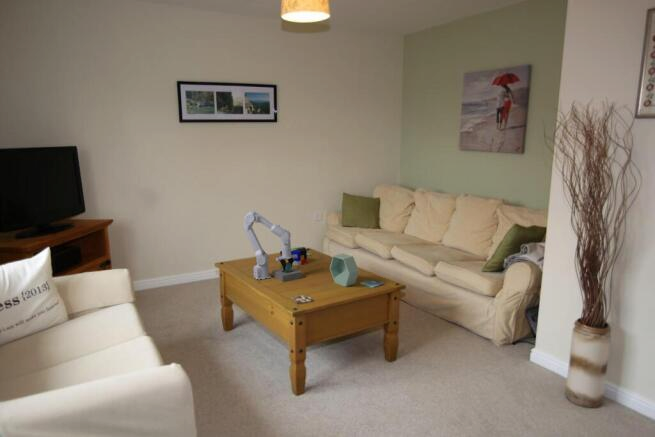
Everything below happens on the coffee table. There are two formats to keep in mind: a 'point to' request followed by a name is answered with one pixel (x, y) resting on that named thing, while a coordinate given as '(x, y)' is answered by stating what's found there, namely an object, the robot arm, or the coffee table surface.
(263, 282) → the coffee table surface
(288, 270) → the teal peg
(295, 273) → the well block
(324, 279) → the coffee table surface
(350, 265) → the planter
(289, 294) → the coffee table surface
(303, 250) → the puzzle toy
